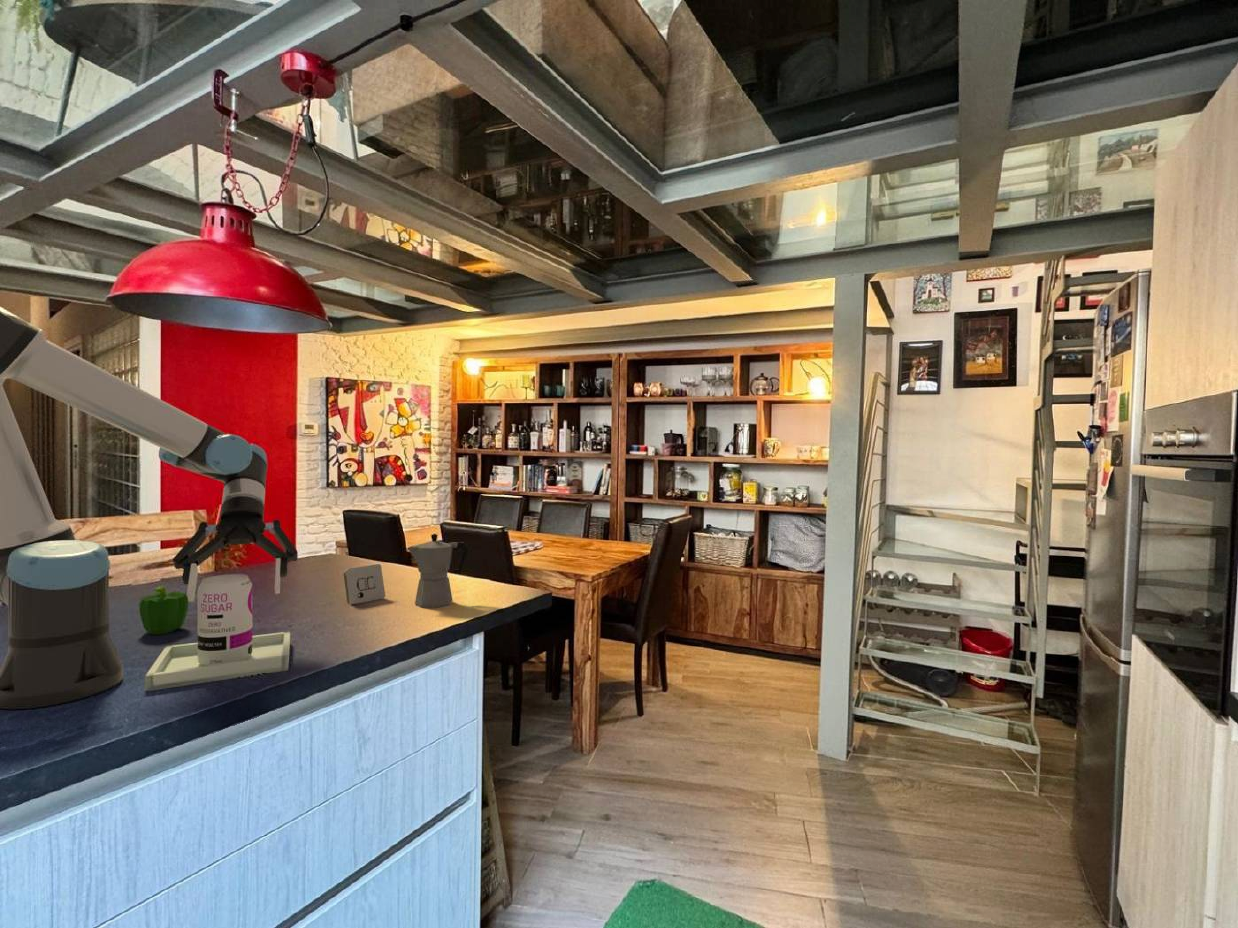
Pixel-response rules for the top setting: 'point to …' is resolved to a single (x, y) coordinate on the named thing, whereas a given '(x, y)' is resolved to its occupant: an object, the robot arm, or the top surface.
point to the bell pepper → (163, 611)
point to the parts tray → (184, 669)
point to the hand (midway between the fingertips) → (235, 594)
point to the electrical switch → (364, 584)
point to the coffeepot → (436, 571)
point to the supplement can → (224, 619)
